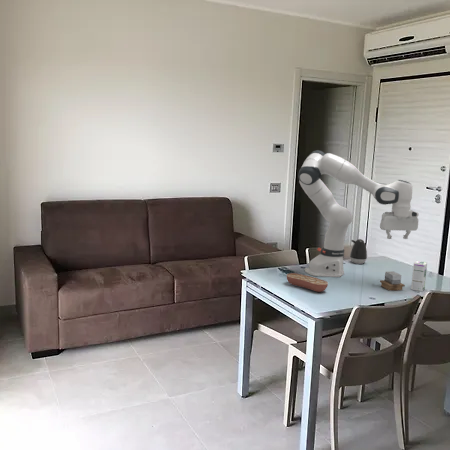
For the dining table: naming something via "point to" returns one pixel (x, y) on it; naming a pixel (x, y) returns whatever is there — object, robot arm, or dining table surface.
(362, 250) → the black kettle
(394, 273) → the housing
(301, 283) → the bread loaf
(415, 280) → the syrup box
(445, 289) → the dining table surface
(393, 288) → the stand
